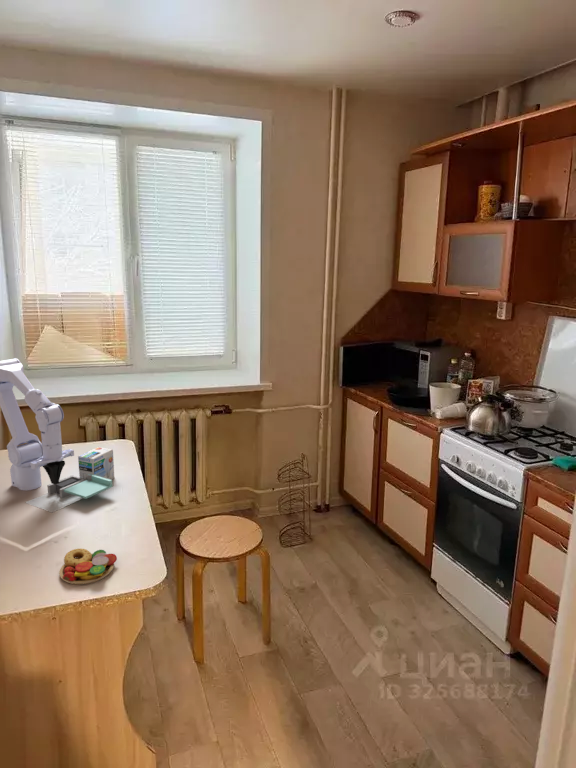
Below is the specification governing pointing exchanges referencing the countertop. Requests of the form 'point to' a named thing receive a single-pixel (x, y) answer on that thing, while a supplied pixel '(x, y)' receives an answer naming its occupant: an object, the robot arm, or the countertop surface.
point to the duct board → (56, 497)
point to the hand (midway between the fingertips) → (55, 483)
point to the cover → (90, 486)
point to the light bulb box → (97, 463)
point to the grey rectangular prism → (65, 484)
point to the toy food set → (86, 566)
